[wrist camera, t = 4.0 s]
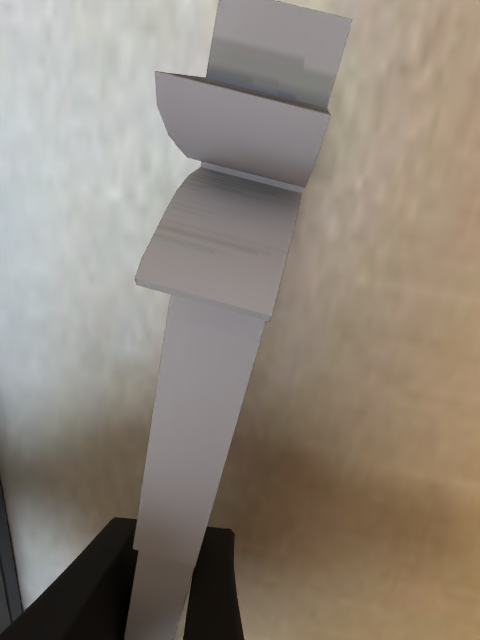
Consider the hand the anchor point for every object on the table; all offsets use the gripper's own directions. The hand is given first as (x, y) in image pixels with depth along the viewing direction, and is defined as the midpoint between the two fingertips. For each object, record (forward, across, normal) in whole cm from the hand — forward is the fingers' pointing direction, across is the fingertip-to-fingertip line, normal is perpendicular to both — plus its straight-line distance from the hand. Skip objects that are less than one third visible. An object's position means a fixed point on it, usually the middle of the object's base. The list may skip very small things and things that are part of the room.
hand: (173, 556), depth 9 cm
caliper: (+2, 0, 0) cm, 2 cm away
